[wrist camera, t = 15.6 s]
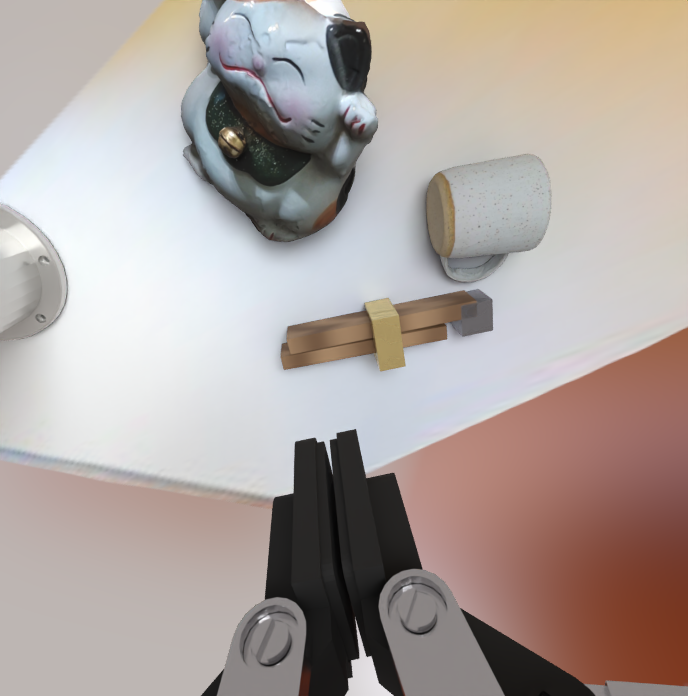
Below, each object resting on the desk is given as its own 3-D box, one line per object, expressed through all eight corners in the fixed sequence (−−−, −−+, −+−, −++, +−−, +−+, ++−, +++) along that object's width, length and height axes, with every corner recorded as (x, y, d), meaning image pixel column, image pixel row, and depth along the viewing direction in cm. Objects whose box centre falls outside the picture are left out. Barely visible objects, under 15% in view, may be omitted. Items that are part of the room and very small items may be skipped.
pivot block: (451, 324, 42) (462, 336, 39) (449, 295, 40) (460, 305, 37) (479, 318, 42) (492, 330, 39) (478, 289, 40) (492, 299, 37)
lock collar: (372, 349, 42) (380, 371, 38) (364, 302, 40) (372, 320, 35) (394, 344, 42) (405, 366, 38) (388, 297, 40) (398, 315, 35)
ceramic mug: (418, 168, 35) (447, 174, 28) (510, 152, 35) (561, 153, 28) (426, 284, 40) (452, 312, 33) (507, 269, 40) (549, 294, 33)
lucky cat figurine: (150, 124, 32) (74, -60, 18) (267, 47, 34) (277, -167, 20) (278, 271, 33) (294, 203, 20) (381, 187, 36) (459, 75, 22)
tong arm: (285, 355, 41) (284, 369, 39) (282, 343, 41) (280, 357, 38) (437, 327, 41) (447, 339, 39) (436, 314, 41) (446, 326, 38)
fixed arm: (291, 340, 41) (290, 354, 38) (287, 326, 40) (286, 339, 37) (464, 305, 41) (477, 316, 38) (464, 290, 40) (476, 300, 37)
